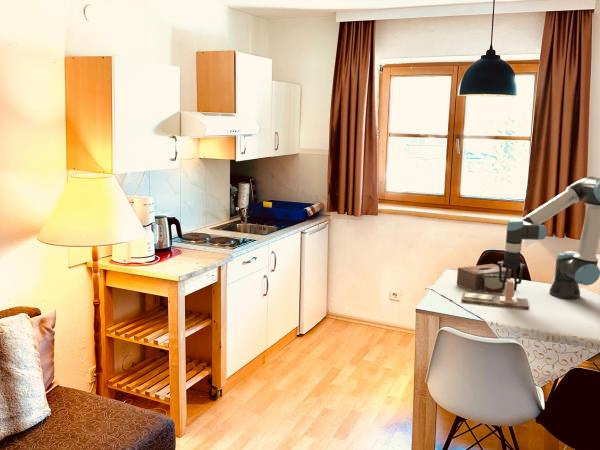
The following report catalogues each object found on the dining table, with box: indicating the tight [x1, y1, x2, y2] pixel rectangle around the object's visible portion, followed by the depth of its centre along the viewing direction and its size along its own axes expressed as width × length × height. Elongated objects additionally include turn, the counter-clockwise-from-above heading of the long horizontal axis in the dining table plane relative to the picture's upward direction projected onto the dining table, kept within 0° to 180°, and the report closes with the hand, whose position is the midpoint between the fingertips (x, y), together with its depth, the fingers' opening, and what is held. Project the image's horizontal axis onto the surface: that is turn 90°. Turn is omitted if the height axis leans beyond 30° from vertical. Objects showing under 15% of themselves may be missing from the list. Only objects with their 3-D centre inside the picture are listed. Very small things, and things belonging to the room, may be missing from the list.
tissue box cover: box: [456, 263, 512, 292], centre depth 337 cm, size 26×14×10 cm, turn 116°
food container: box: [483, 272, 507, 294], centre depth 326 cm, size 12×6×10 cm, turn 84°
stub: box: [499, 278, 517, 304], centre depth 304 cm, size 8×8×10 cm
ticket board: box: [461, 291, 530, 311], centre depth 307 cm, size 32×14×2 cm, turn 72°
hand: (508, 295), depth 305 cm, fingers closed on stub, 3 cm apart
